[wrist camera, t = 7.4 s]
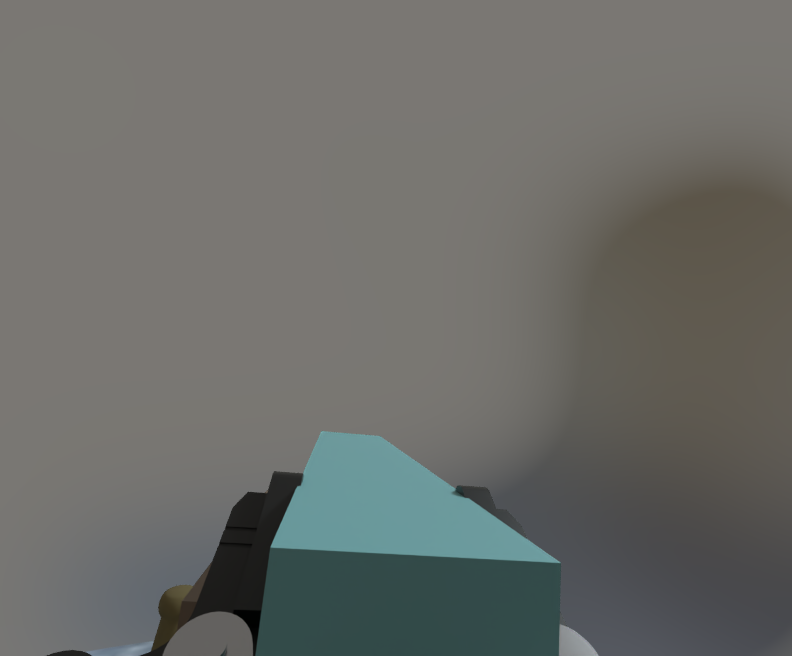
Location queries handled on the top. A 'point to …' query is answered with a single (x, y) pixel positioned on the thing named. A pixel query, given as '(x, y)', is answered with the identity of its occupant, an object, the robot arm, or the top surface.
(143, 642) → the top surface
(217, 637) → the robot arm
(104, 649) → the top surface
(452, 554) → the teal block
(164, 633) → the cork
